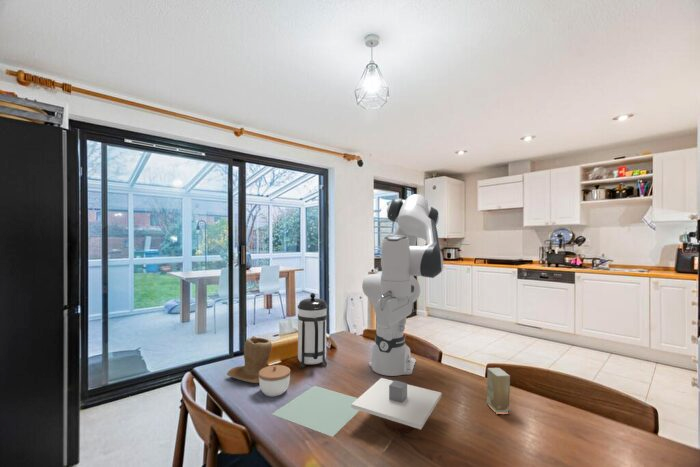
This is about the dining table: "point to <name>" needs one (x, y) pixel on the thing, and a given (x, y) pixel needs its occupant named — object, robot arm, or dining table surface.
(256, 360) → the brown boot
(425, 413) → the lid
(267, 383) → the lidded jar
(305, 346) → the coffee press
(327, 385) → the dining table surface
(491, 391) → the skincare box
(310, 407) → the mat
